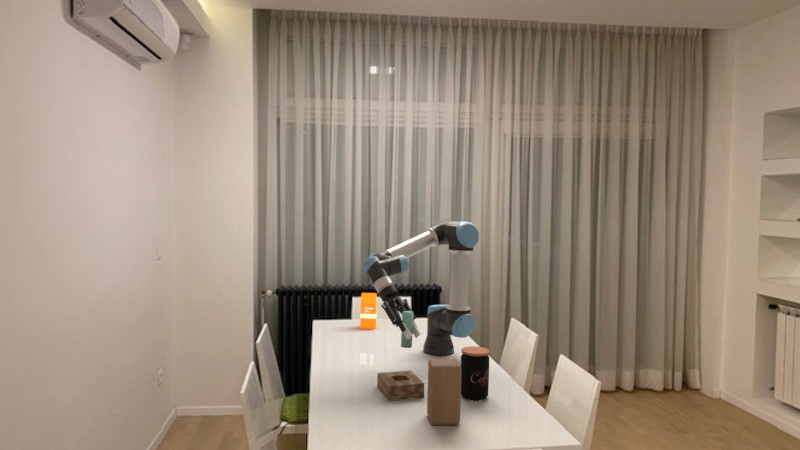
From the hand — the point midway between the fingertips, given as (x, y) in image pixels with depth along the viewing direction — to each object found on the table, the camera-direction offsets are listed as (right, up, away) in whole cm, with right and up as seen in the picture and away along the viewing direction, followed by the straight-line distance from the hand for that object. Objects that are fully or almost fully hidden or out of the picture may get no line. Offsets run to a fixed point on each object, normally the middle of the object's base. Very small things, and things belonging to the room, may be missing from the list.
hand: (413, 336), depth 221 cm
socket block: (-5, -20, -5) cm, 22 cm away
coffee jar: (+23, -22, -8) cm, 32 cm away
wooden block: (+9, -22, -31) cm, 39 cm away
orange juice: (-24, -15, +102) cm, 106 cm away
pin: (-3, -5, +3) cm, 6 cm away
